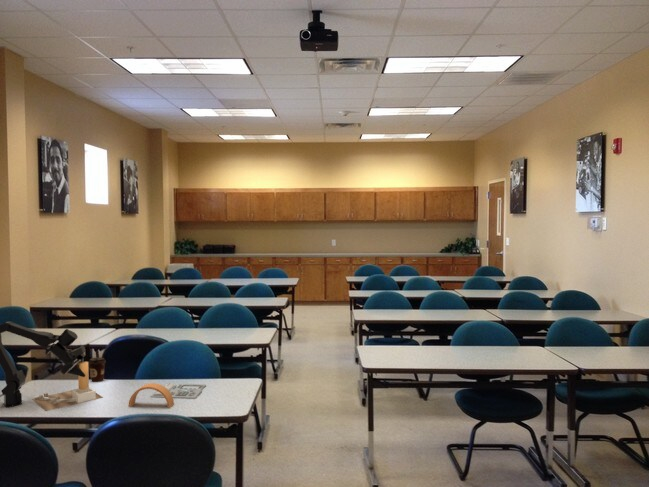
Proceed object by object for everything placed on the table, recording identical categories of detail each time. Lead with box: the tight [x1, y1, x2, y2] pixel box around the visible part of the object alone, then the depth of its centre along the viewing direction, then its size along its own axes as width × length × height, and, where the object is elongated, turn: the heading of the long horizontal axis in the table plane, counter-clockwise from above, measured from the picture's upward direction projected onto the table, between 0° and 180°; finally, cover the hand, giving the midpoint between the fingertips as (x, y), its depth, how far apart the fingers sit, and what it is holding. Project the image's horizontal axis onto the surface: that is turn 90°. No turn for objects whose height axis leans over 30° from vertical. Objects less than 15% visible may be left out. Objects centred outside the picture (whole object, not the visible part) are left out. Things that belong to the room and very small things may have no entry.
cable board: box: [31, 388, 104, 412], centre depth 254 cm, size 26×22×4 cm
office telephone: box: [149, 383, 207, 400], centre depth 266 cm, size 23×3×20 cm
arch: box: [128, 382, 175, 409], centre depth 247 cm, size 6×20×10 cm, turn 86°
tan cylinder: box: [77, 361, 90, 390], centre depth 252 cm, size 4×4×12 cm
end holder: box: [72, 386, 97, 404], centre depth 253 cm, size 8×8×4 cm
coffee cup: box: [87, 357, 107, 383], centre depth 281 cm, size 9×8×13 cm
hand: (86, 374), depth 252 cm, fingers closed on tan cylinder, 4 cm apart
